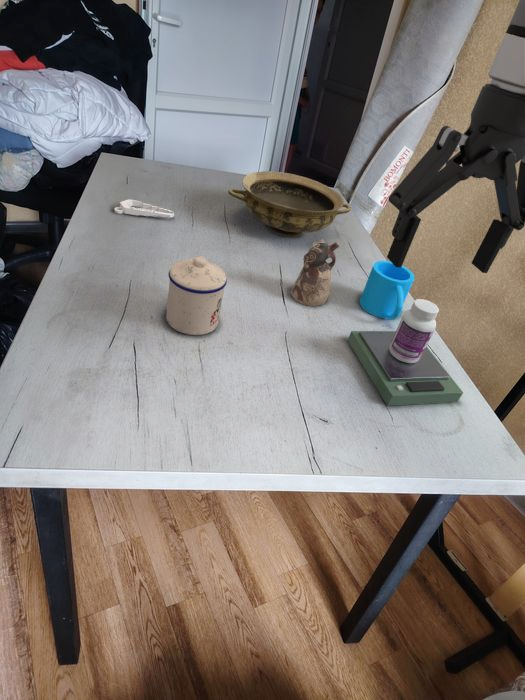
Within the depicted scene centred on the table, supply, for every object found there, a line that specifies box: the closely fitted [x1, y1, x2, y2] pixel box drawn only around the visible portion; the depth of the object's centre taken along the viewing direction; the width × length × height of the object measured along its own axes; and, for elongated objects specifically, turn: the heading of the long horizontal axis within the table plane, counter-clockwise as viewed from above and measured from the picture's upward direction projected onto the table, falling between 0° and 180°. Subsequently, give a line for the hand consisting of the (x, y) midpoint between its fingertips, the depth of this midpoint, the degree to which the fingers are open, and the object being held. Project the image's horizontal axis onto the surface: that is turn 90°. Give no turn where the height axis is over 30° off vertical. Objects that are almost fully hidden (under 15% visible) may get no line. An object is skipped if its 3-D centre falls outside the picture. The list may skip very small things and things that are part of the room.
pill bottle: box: [389, 298, 440, 363], centre depth 76 cm, size 5×5×10 cm
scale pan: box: [359, 332, 449, 382], centre depth 80 cm, size 12×11×1 cm
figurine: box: [290, 238, 340, 307], centre depth 90 cm, size 7×7×12 cm
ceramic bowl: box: [227, 170, 352, 237], centre depth 114 cm, size 30×24×10 cm
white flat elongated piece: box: [114, 199, 175, 219], centre depth 108 cm, size 13×5×2 cm, turn 94°
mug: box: [359, 260, 415, 321], centre depth 92 cm, size 12×8×8 cm
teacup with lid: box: [166, 255, 228, 336], centre depth 77 cm, size 12×9×12 cm
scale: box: [347, 330, 464, 407], centre depth 80 cm, size 16×13×3 cm
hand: (437, 265), depth 64 cm, fingers open, 13 cm apart
